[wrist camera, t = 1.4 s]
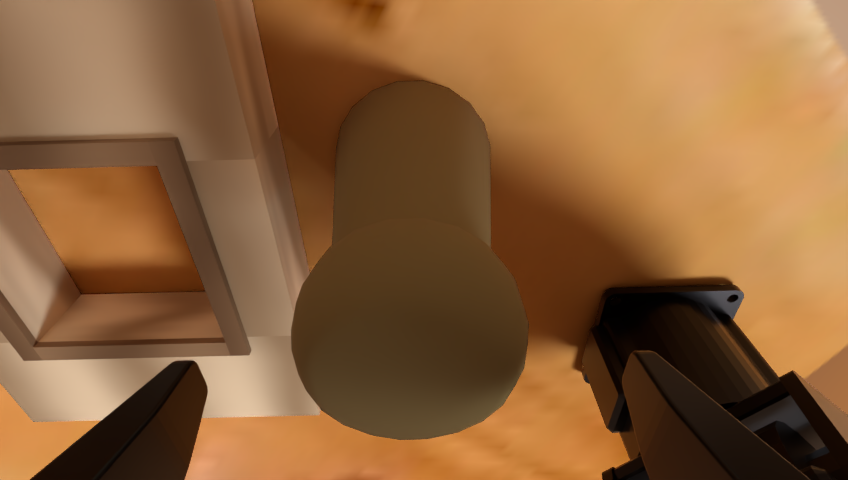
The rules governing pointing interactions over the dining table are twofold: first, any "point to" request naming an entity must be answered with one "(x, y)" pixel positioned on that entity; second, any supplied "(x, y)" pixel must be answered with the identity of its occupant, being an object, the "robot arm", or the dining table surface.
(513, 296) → the olive tall rounded piece
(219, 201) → the socket board
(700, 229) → the dining table surface
